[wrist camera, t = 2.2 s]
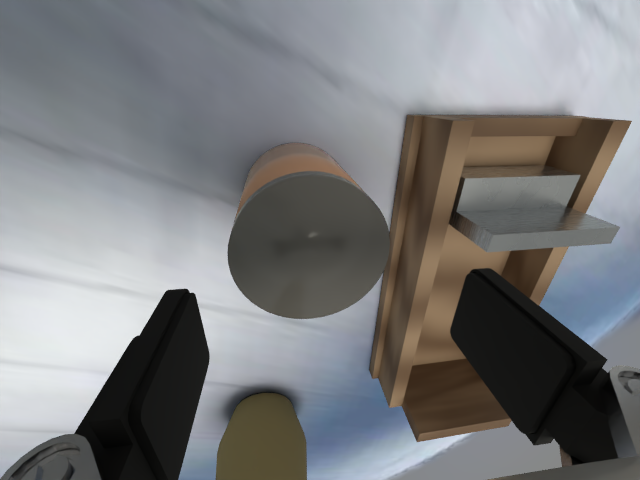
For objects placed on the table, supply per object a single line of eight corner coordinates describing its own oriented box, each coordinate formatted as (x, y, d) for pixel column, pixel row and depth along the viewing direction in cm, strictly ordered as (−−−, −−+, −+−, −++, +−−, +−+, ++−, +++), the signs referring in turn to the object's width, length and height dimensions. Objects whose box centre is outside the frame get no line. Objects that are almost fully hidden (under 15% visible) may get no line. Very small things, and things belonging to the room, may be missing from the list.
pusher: (441, 167, 18) (506, 196, 13) (544, 165, 19) (641, 191, 14) (431, 211, 19) (487, 252, 14) (528, 206, 20) (610, 243, 15)
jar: (238, 143, 16) (214, 180, 10) (349, 142, 17) (401, 175, 10) (250, 243, 20) (238, 325, 13) (343, 237, 21) (380, 311, 14)
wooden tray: (407, 114, 17) (482, 127, 11) (572, 115, 19) (716, 126, 13) (369, 369, 28) (396, 445, 22) (475, 355, 30) (526, 422, 24)
